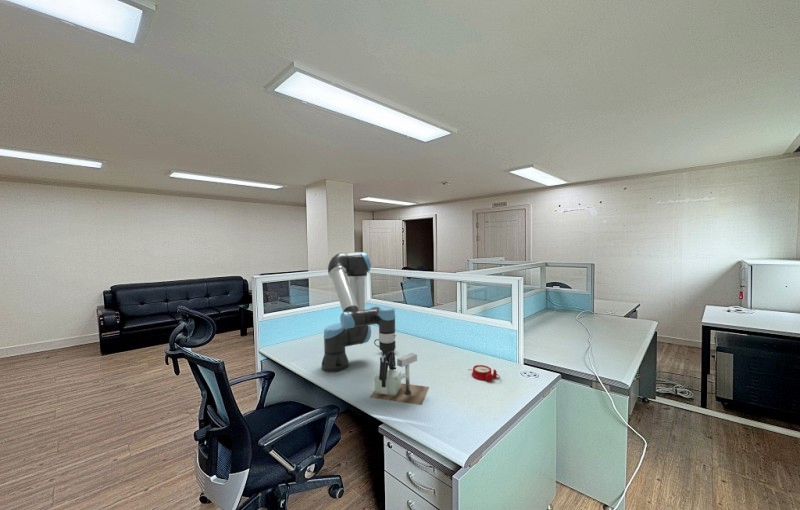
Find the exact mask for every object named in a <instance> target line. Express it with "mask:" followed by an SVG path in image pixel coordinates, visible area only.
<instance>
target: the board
mask: <svg viewBox="0 0 800 510" xmlns="http://www.w3.org/2000/svg"><path fill="white" fill-rule="evenodd" d="M429 389H430V386H425V385H417V384H410V392H406V383H404V382H403V383H401V388H400V390H399V391H398V393H397V395H396V396H393V395H386V394H379V393H375V390H374V391H373V392H372V393H371V395H370V396H369V398H370V399H371V398H372V399H377V400H378V399H379V400H385V401H390V402H391V401H393V402H397V403H398V402H399V403H405V404H412V405H419V406H422V405H423V403H424V401H425V398H426V395H427V394H428V391H429Z"/></svg>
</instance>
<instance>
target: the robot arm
mask: <svg viewBox="0 0 800 510" xmlns="http://www.w3.org/2000/svg"><path fill="white" fill-rule="evenodd" d="M371 265H372V264H371V260H370V257H369V255H368V253H367V252H363V251H361V252H360V251H356V252H355V251H353V252H339V253H336V254H335V255H334V256H333V257H331V259H330V260H329V263H328V265H327V273H328V276H329V278H330V279H332V282H333V286H334V289H335V291H336V292H335V293H336V294H337V298H338V301H339V304H340V306H341V311H342V313H341V314H340V319H339V320H340V322H339V323H334V324H330V325H328V326H327V327H325V328H324V330H323V349H324V350H323V351H324V354H323V358H322V361H321V369H322V370H323V371H324V372H329V371H335V372H340V371H344V370H346V369H347V368H348V367H349V366H350V365H349V358H348V356H347V354H346V347H351V346H356V345H362V344H366V343H368V342H369V341H370V339H371V337H372V329H371V325H378V339H379V340H378V342H379V343H378V344H379V345H378V346H379V347H378V348H379V349H378V350H380V351H381V352H382V351H383V353H382V354H381V356H380V357H379V370H380V374H379V380H381V393H383V394H387V393H388V387H387V371H388V370H395V371H397V370H396V369H397V367H396V365H397V362H396V355H395V354H396V353H395V351H396V347H397V346H396V337H397V334H396V312H395V308H394V307H393V306H382V307H379V306H371V307H370V308H368V309H365V308H366V305H365V304H366V303H365V301H366V300H365V298H366V297H365V292H366V291H365V278H366V277H367V276H368V273H369V272H370V271H371V269H372V267H371ZM348 365H349V366H348ZM345 368H346V369H345ZM339 370H340V371H339Z"/></svg>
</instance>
